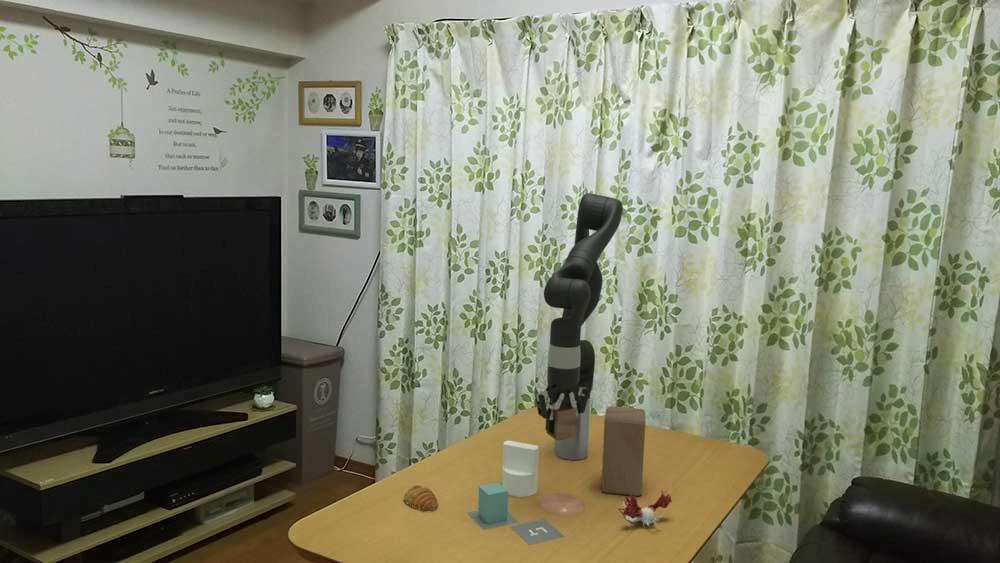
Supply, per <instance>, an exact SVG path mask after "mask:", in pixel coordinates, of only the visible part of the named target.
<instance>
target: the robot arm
mask: <svg viewBox="0 0 1000 563" xmlns="http://www.w3.org/2000/svg"><path fill="white" fill-rule="evenodd" d="M623 208H624V206H623V202H622V201H621V200H620V199H617V198H614V197H612V196H611V197H610V196H606V195H601V194H595V193H589V192H587V193H584V194H583V195H582V197H581V199H580V201H579V204H578V208H577V217H576V227H575V237H574V246H572V248H571V249H570V251H569V253H568V255H567V257H566V259H565V260H564V263H563V265H561V267H559V269H557V270H556V272H554V273H553V274H552V275H551V277H549V279H548V280H547V282H546V283H545V286H544V290H543V299H544V301H545V303H546V304H547V306H549V307H551V308H556V309H562V316H561V317H557V318H554V319H553V320H552V321H551V323H550V328H549V329H550V333H549V334H550V336H549V346H548V347H549V348H548V355H547V356H548V357H547V374H546V375H547V376H546V379H547V386H546V389H545V390H543V391H541V392H540V391H536V392H535V393H534V397H535V398H534V399H535V402H536V408H537V413H538V416H540V417H542V418H543V419H544V420H545V431H547V432H548V433H549V434H550V435H554V422H555V420H554V417H555V411H557V410H559V407H560V406H563V405H568V406H570V407H571V408H575V409H577V414H576V433H575V438H570V439H564V440H558V441H557V440H555V439H554V449H553V450H554V451H555V455H556V457H559V458H560V459H564V460H568V461H578V460H579V461H580V460H584V459H586V458H587V457H588V456H589V437H590V436H589V434H590V432H589V431H590V416H591V415H590V414H591V413H590V412H591V411H590V410H591V409H590V408H591V407H590V405H591V393H592V390H593V386H594V375H595V366H596V365H595V363H596V352H595V348H594V347H593V344H592V343H591V342H590V341H589V340H588V339H586V340H585V339H581V335H582V334H581V333H582V326H583V325H584V323H585V322H586V321H587V319H589V317H590V316H591V315H592V314H593V312H594V311H595V309H596V308H597V306H598V304H599V302H600V298H601V293H602V286H603V281H604V280H603V279H604V278H603V275H602V271H601V268H600V266H599V264H598V261H599V258H600V257H601V255H602V254H603V251H605V249H606V247H607V246H608V244H610V242H611V240H612V238H613V237H614V235H615V234H616V232H617V230H618V228H619V226H620V224H621V221H622V216H623ZM590 230H591V231H595V232H594V233H591V234H590ZM547 397H548V399H547ZM546 401H548V402H547V403H546ZM553 404H555V405H553ZM550 435H549V436H550Z"/></svg>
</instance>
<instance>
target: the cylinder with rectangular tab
mask: <svg viewBox="0 0 1000 563" xmlns="http://www.w3.org/2000/svg"><path fill="white" fill-rule="evenodd" d="M539 450H540V447H539V445H535V444H529V443H525V442H519V441H514V440H506V441H504V442H503V444H502V469H501V470H502V474H501V475H502V476H501V485H502V486H503V487H504V488H505V489H506V490H508V496H511V497H518V498H519V497H520V498H524V497H531V496H533V495H535V494H536V493H537V492H538V487H539V486H538V484H539V481H538V480H539V455H540V452H539Z"/></svg>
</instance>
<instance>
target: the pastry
mask: <svg viewBox="0 0 1000 563" xmlns="http://www.w3.org/2000/svg"><path fill="white" fill-rule="evenodd" d="M403 498H404V501H405V503H406V502H407V503H408V504H410V505H411V506H413V507H415V508H417V509H416V510H418V509H420V510H423V511H422V512H424V511H431V512H434V511H436V510H437V509H436V508H438V507H439V503H438V499H437V496H436V495H435V494H434V492H433V491H432V490H431V489H430V488H429V487H424V486H422V485H421V484H416V485H412V486H411V487H409V488H408V489H407V491H406V492H405V494H404V495H403ZM411 506H410V507H411ZM413 507H412V508H413ZM415 508H414V509H415ZM435 509H436V510H435ZM420 510H419V511H420Z"/></svg>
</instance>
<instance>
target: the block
mask: <svg viewBox="0 0 1000 563" xmlns="http://www.w3.org/2000/svg"><path fill="white" fill-rule="evenodd" d="M603 423H604V425H603V426H604V427H603V442H602V443H603V445H602V446H603V447H602V465H601V467H602V468H601V469H602V470H601V485H600V486H601V490H602V492H604V493H609V494H619V495H625V496H626V495H628V496H630V495H632V496H634V494H635V493H636V497H638V496H641V494H642V491H643V478H644V477H643V476H644V475H643V472H644V460H645V459H644V456H645V438H646V437H645V436H646V410H645V409H643V408H635V407H623V406H611V405H610V406H607V407H606V410H605V415H604V422H603Z"/></svg>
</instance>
